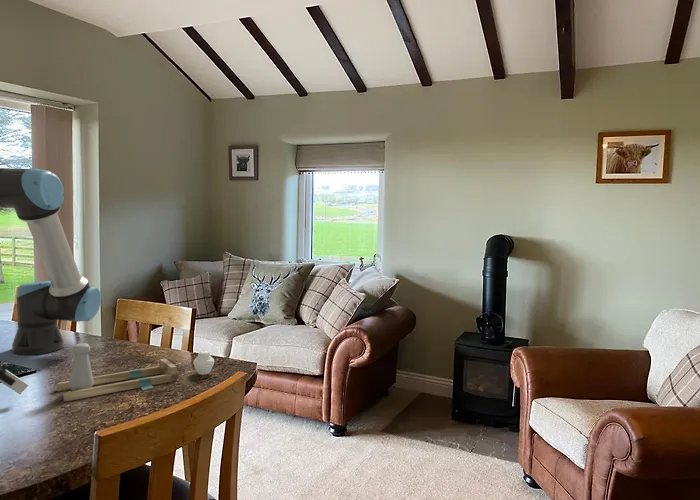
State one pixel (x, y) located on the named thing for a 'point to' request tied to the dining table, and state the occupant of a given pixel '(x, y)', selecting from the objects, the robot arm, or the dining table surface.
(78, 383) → the salt shaker
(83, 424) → the dining table surface
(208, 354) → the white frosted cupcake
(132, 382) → the guide rails
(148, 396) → the dining table surface
